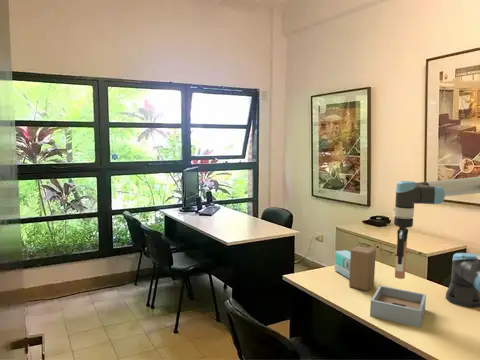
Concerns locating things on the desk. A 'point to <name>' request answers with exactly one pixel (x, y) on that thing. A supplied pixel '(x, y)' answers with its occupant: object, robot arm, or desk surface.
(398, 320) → the bore box
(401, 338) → the desk surface
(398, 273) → the peg
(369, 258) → the wooden block
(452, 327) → the desk surface
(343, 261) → the radio
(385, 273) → the desk surface
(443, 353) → the desk surface
